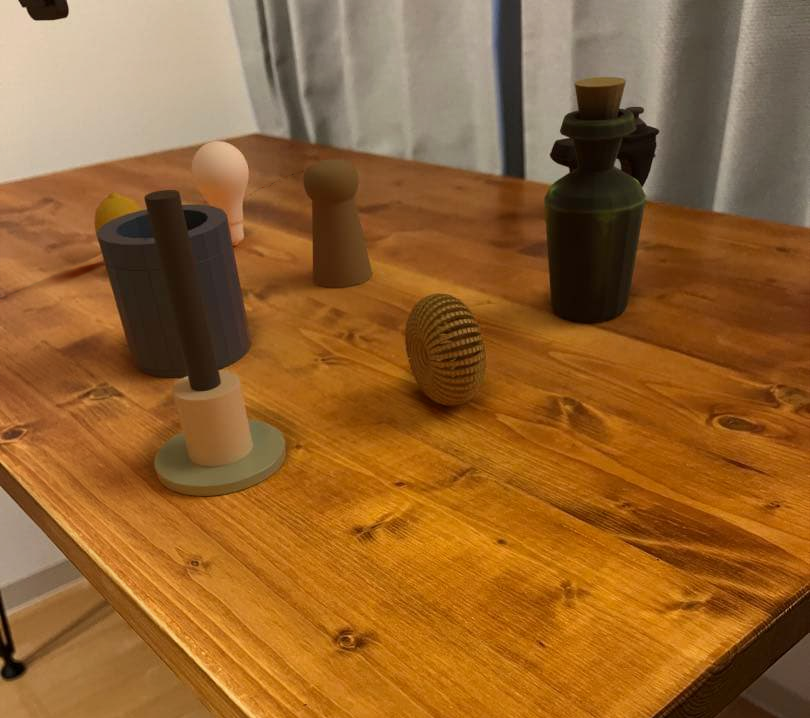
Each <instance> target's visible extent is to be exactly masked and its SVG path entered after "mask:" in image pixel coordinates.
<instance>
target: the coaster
mask: <svg viewBox="0 0 810 718" xmlns="http://www.w3.org/2000/svg"><path fill="white" fill-rule="evenodd" d="M248 423H249V428H250V433H251V437H252V442H253V448H252V450H251V452H250V453H249V454H248V455H247V456H246V457H244V458H243V459H241V460H239V461H237V462H235V463H232V464H229V465H224V466H218V467H206V466H201V465H198V464H195V463H194V462H192V461H191V459H190V458H189V454H188V450H187V446H186V443H185V439H184V435H183V431H181V432H179V433H177V434H176V435H174V436H172V437H171V438H170V439H168V440H167V441H165V442H164V443H163V444H162V445H161V447H160V448H159V449H158V451H157V452H156V455H155V457H154V461H153V464H154V465H153V466H154V470H155V473H156V474H155V475H156V476H157V478H158V480H159V482H160V483H161V484H162V485H163V486H164V487H165V488H167V489H169V490H171V491H172V492H174V493H177V494H182V495H186V496H187V495H188V496H194V497H209V496H210V497H211V496H221V495H228V494H232V493H236V492H239V491H243V490H246V489H248V488H251V487H253V486H255V485H258V484H260V483H262V482H264V481H265V480H267V479H268V478H269V477H271V476H273V475H274V474H275V473H276V472H277V471H278V470H280V468H281V467H282V466H283V464H284V462H285V460H286V458H287V453H288V452H287V445H286V439H285V436H284V435H283V433H282V432H281V431H280V429H278V428H276V426H273V425H272V424H270V423H267V422H264V421H261V420H255V419H249V418H248Z"/></svg>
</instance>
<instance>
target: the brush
mask: <svg viewBox="0 0 810 718" xmlns="http://www.w3.org/2000/svg"><path fill="white" fill-rule="evenodd" d="M180 194H181V193H180V192H179V190H175V189H164V190H163V189H162V190H157V191H152V192H150V193H147V194H146V195H144V196H143V197H144V198H143V199H144V202H145V206H146V209H147V211H148V215H149V219H150V224H151V228H152V232H153V236H154V240H155V244H156V248H157V252H158V256H159V260H160V264H161V268H162V273H163V277H164V281H165V285H166V289H167V293H168V297H169V301H170V305H171V309H172V313H173V317H174V322H175V326H176V330H177V334H178V338H179V342H180V346H181V350H182V354H183V358H184V362H185V366H186V371H187V375H188V376H186V377H181V378H180V379H179V380H177V381H176V382H175V383H174V385H173V386H172V390H171V392H172V396H173V400H174V403H175V408H176V412H177V415H178V420H179V423H180V427H181V432H183V435H184V439H185V443H186V446H187V450H188V454H189V458H190V459H191V461H192V462H194V463H195V464H198V465H201V466H206V467H218V466H224V465H229V464H232V463H235V462H237V461H239V460H241V459H243V458H244V457H246V456H247V455H248V454H249V453H250V452H251V450H252V448H253V442H252V437H251V433H250V428H249V423H248V419H249V418H248V414H247V409H246V404H245V400H244V394H243V389H242V385H241V380H240V377H239V376H238V375H237V374H236V373H235V372H234V371H233V372H232V371H230V370H225V369H218V365H217V361H216V356H215V352H214V347H213V343H212V338H211V334H210V329H209V325H208V320H207V316H206V311H205V307H204V302H203V298H202V293H201V288H200V284H199V279H198V275H197V270H196V266H195V261H194V257H193V252H192V248H191V243H190V239H189V234H188V230H187V225H186V221H185V216H184V212H183V207H182V205H183V203H182V198H181V195H180Z"/></svg>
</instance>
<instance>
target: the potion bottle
mask: <svg viewBox="0 0 810 718" xmlns="http://www.w3.org/2000/svg"><path fill="white" fill-rule="evenodd" d="M626 82H627V80H626V78H623V77H617V76H597V77H587V78H583V79H579V80H576V81H575V82H574V88H575V97H576V103H577V109H578V110H574V111H571V112H568V113H566V114H565V115H564V116H563V118H562V119H563V120H562V123H561V126H560V129H559V133H560V134H561V136H564V137H567V138H571V139H573V144H574V149H575V154H576V158H577V163H578V168H576V169H574V170H573V171H571V172H570V171H569V172H568V173H567V174H565V175H564V176H562V177H560V178H558V179H557V180H556V181H554V182H553V183H552V184H551V185H550V187H549V189H548V191H547V192H546V195H545V196H544V198H543V201H544V202H543V203H544V215H545V231H546V246H547V261H548V271H549V272H548V275H549V289H550V304H551V308H552V311H553V312H554V313H555V314H556V315H557V316H559V317H561V318H562V319H564V320H568V321H572V322H580V323H599V322H605V321H609V320H614V319H615V318H618V317H619V316H621V315H622V314H623V313H624V312H625V311H626V309H627V307H628V306H629V299H630V295H631V287H632V282H633V275H634V270H635V264H636V258H637V253H638V247H639V240H640V234H641V228H642V223H643V217H644V210H645V204H646V199H647V195H646V194H645V191H644V189H643V187H641V184H640V183H639V182H638V181H637V180H636V179H635V178H633V177H632V176H630V175H628V174H627V173H625V172H623V171H622V170H621V168H618V167H617V166H615V163H616V160H617V159H616V157H617V154H618V151H619V147H620V144H621V141H622V137H624V136H626V135H628V134H630V133H632V132H634V131H635V130H636V129H637V128H636V124H635V119H634V115H633V113H632V112H631V111H629V110H625V109H626V108H620V107H621V103H622V99H623V95H624V91H625V86H626Z"/></svg>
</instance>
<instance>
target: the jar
mask: <svg viewBox="0 0 810 718" xmlns="http://www.w3.org/2000/svg"><path fill="white" fill-rule="evenodd" d="M182 207H183V212H184V216H185V221H186V225H187V230H188V234H189V239H190V243H191V248H192V252H193V257H194V261H195V266H196V270H197V275H198V279H199V284H200V288H201V293H202V298H203V302H204V307H205V311H206V316H207V320H208V325H209V329H210V334H211V338H212V343H213V347H214V352H215V356H216V361H217V365H218V370H222V369H223V368H226V367H228V366H230V365H232V364H234V363H236V362H237V361H239V360H240V359H242V358H243V357H244V356H245V355H246V354H247V353H248V352H249V350H250V348H251V345H252V342H251V333H250V328H249V327H250V326H249V322H248V316H247V313H246V312H247V311H246V308H245V303H244V302H245V301H244V296H243V292H242V287H241V282H240V276H239V270H238V266H237V260H236V255H235V250H234V246H233V244H232V239H231V234H230V229H229V224H228V219H227V215H226V213H225V212H224V211H223V210H222V209H219V208H216V207H213V206H210V205H207V204H206V205H205V204H197V203H195V204H182ZM97 238H98V239H97ZM96 239H97V242H98V241H99V242H98V245H99V248H100V251H101V255H102V258H103V262H104V266H105V269H106V273H107V276H108V281H109V284H110V287H111V290H112V291H111V292H112V294H113V298H114V301H115V304H116V305H115V306H116V308H117V312H118V315H119V319H120V322H121V327H122V330H123V332H124V337H125V340H126V344H127V347H128V351H129V355H130V357H131V361H132V364H133V366H134V367H135V368H136V370H137V371H139V372H141V373H143V374H144V375H148V376H151V377H157V378H158V377H159V378H184V377H186V376H188V375H187V371H186V366H185V362H184V358H183V354H182V350H181V346H180V342H179V338H178V334H177V330H176V326H175V322H174V317H173V313H172V309H171V305H170V301H169V297H168V293H167V289H166V285H165V281H164V277H163V273H162V268H161V264H160V260H159V256H158V252H157V248H156V244H155V240H154V236H153V232H152V228H151V224H150V219H149V215H148V211H147V208H145V209H141V211H137V212H133V213H130V214H126V215H124V216H121V217H119V218H116V219H113V220H111V221H109V222H108V223H106V224H105V225H103V226H101V227H100V229H99V230H98V232H97V236H96Z"/></svg>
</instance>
